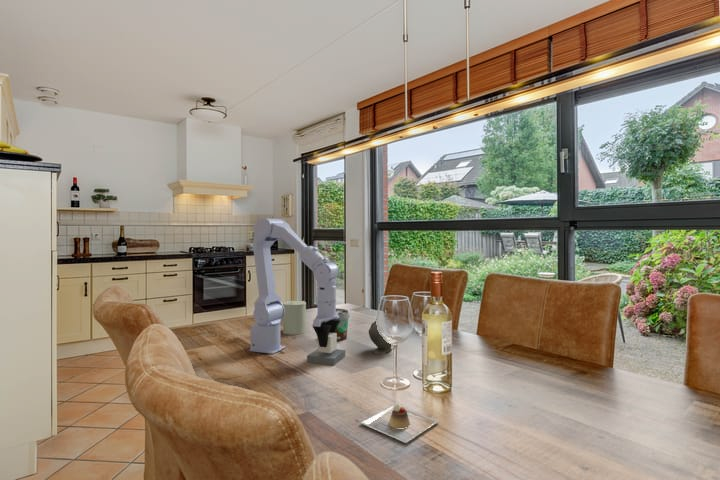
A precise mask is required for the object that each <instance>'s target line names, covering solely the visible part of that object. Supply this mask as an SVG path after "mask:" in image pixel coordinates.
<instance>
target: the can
mask: <svg viewBox="0 0 720 480" xmlns="http://www.w3.org/2000/svg"><path fill="white" fill-rule="evenodd" d="M282 304H283V306H284V309H285V314H284V316H283V318H282V333H283V334H284V335H290V336H294V335H295V336H296V335H302V334H305V333H307V319H306V318H307V302H306V301H305V300H304V301H303V300H287V301H284V302H282Z"/></svg>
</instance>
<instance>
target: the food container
mask: <svg viewBox="0 0 720 480" xmlns="http://www.w3.org/2000/svg"><path fill="white" fill-rule="evenodd" d="M336 311H339V318H338V319H340V323H339V325H338V327H337V330H336V333H337V342H342V341H346V340H347V339H348V338H347V337H348V325H349V324H348V323H349V319H350V318H351V314H350V312H349V310H348V309H344V308H337V307H336Z"/></svg>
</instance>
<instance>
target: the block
mask: <svg viewBox="0 0 720 480" xmlns="http://www.w3.org/2000/svg"><path fill="white" fill-rule="evenodd" d="M316 340H317V342H316V343H317V345H316V347H317V348H316V349H317V351H318V352H326V353H331V352H333V351H334V350H336V349H338V347H337V346H338V345H337V344H338V343H337V342H338V341H337V333H330V332H329V335H328V342H327V347H320V345H319V342H318V338H317V339H316Z"/></svg>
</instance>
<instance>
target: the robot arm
mask: <svg viewBox="0 0 720 480" xmlns="http://www.w3.org/2000/svg"><path fill="white" fill-rule="evenodd" d="M252 228H253V239H252V249H253V251H252V252H253V256H254V257H253V259H254V265H255V266H254V267H255V272H256V281H257V289H258V297H257V298H256V300H255V301H254V303H253V304H254V309H253V315H252V316H253V319H254V321H255V322H254V323H253V324H252V326H251V328H250V334H249V335H250V338H249V339H250V342H249V343H250V349H248V350H249V352H254V353H262V354H271V355H272V354H276V353H278V352H280V351H281V350H283V349H286V345H281V322H282V319H283V316H284V314H285V309H284V306H283V302H282V297H281V296H279V295H278V294H277V293H276V284H275V276H274V268H273V261H272V254H271V247H272V246H273V244H274V243H275V242H276V241H278V240H279V239H281V240H283V241H284V242H286V244H288V245H289V246H290V247H291V248H293V249H294V251H296V252H297V253H299V259H300V261H302V262H303V263H304V264H305V265H306V267H308V268H309V269H310V270H311V271H312V273H313V277H314V279H315V280H316V286H317V292H316V293H317V297H316V299H317V305H316V306H317V310H316V311H317V314H316V316H315V318H314V319H312V320H313V323H312V328H313V330H314V332H315V335H316V336H317V338H318V342H319V345H320V347H327V342H328V335H329V332H330V333H336V330H337V327H338V325H339V323H340V319H338V318H339V311H336V308H337V278H338V276H339V274H340V269H339V266H338V265H337V262H334V261H329V258H328V257H325V256H324V255H323V254H322V253H320V251H319V248H318V247H317V246H313V245H309V246H308V244H306V243H305V242H304V241H303V239H301V238H300V237H299V236H298V234H297V233H296V232H295V231H294V230H293V229H292V228H291V225H290V224H289V223H288V222H286V220H284V219H283V218H266V217H261V218H259V219H258V220H257V221H256V222H255V224H254V225H253V227H252Z"/></svg>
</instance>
